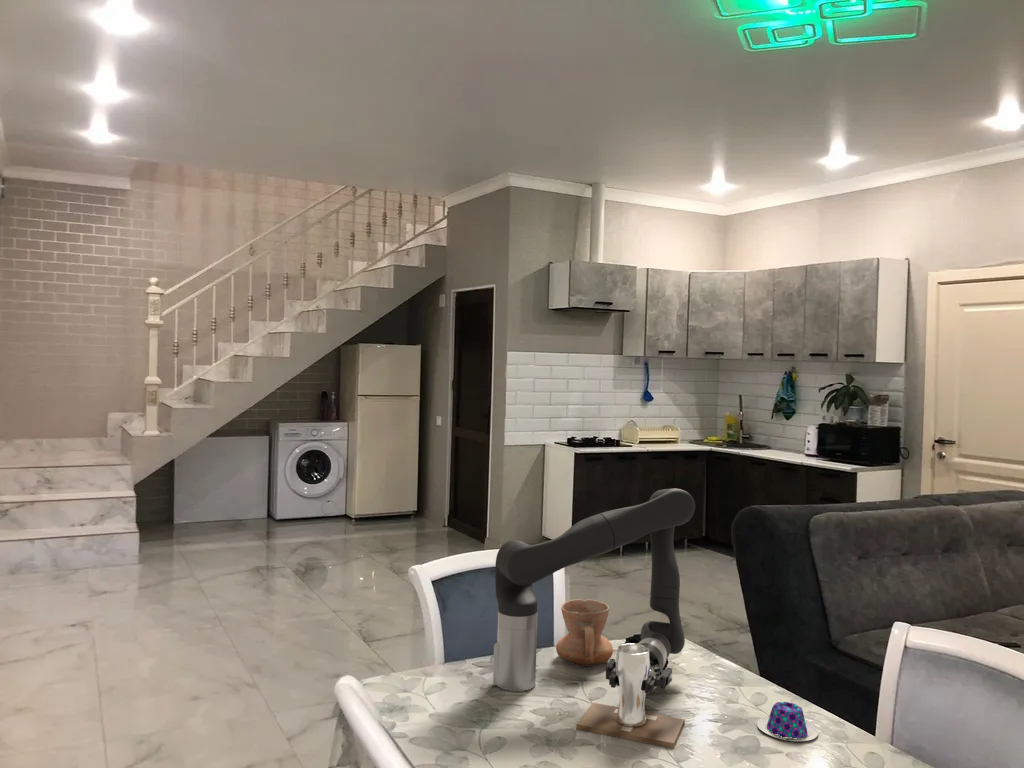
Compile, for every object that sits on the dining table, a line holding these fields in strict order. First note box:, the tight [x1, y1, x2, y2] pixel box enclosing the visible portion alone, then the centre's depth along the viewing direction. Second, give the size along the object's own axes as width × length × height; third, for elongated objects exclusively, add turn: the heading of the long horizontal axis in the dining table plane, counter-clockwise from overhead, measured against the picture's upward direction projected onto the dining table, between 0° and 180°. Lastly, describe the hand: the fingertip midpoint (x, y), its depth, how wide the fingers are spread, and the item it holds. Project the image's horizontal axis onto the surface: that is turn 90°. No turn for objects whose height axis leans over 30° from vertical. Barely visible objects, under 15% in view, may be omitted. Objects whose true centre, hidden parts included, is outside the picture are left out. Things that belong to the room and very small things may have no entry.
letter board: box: [575, 702, 686, 749], centre depth 166 cm, size 20×12×1 cm, turn 68°
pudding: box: [756, 701, 819, 742], centre depth 166 cm, size 12×12×5 cm
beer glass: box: [615, 642, 650, 727], centre depth 166 cm, size 7×7×15 cm
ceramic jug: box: [555, 598, 614, 667], centre depth 203 cm, size 18×14×14 cm
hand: (629, 685), depth 163 cm, fingers closed on beer glass, 6 cm apart
